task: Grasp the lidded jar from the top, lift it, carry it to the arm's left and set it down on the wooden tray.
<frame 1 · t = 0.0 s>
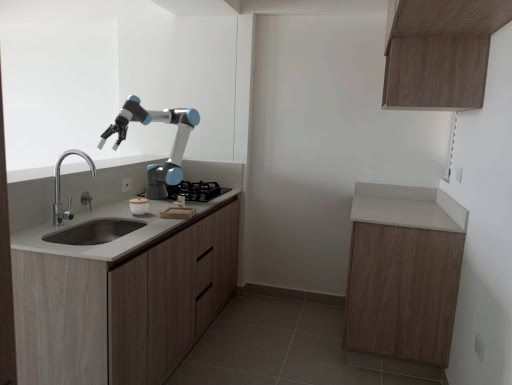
hand: (106, 149, 239), 36 cm above the worktop, tool tilted 35°, fingers open, 13 cm apart
wooden tray: (178, 215, 238), on the worktop
lidded jar: (139, 213, 241), on the worktop
architectural model: (180, 208, 259), on the worktop
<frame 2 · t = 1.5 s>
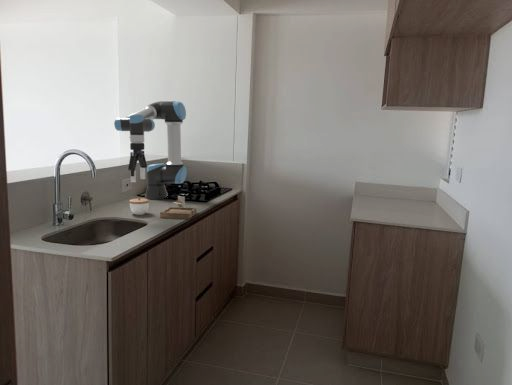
hand: (138, 180, 238), 19 cm above the worktop, tool pointing down, fingers open, 13 cm apart
nothing on the worktop moved.
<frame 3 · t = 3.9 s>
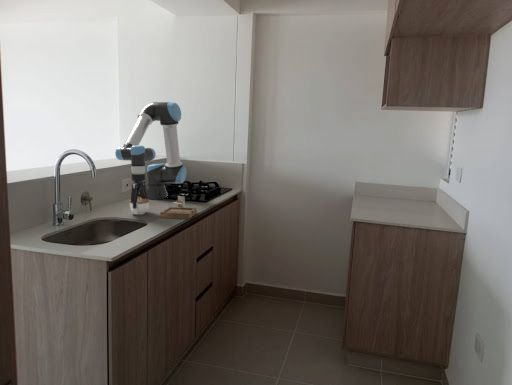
hand: (139, 211, 241), 1 cm above the worktop, tool pointing down, fingers closed on lidded jar, 11 cm apart
lidded jar: (139, 213, 241), on the worktop, touching gripper
everything else where it was.
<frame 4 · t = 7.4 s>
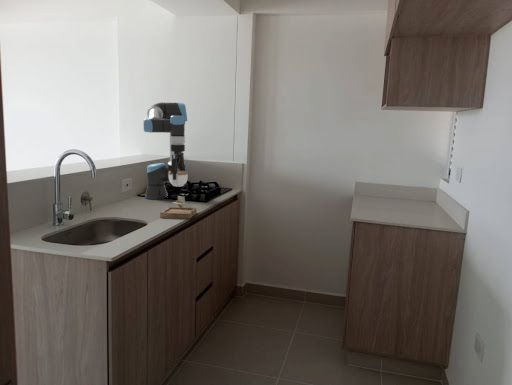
hand: (178, 184, 235), 18 cm above the worktop, tool pointing down, fingers closed on lidded jar, 11 cm apart
lidded jar: (178, 186, 236), point 17 cm above the worktop, touching gripper
everything else where it was.
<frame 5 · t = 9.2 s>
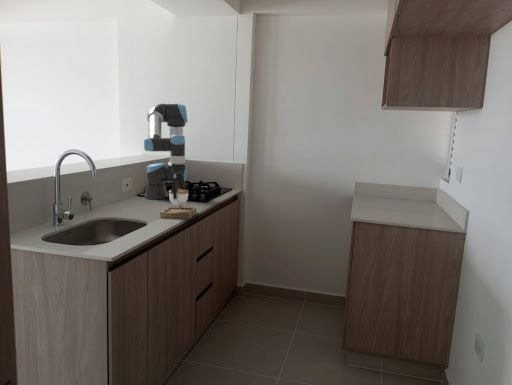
hand: (178, 202, 237), 7 cm above the worktop, tool pointing down, fingers closed on lidded jar, 11 cm apart
lidded jar: (178, 204, 237), point 6 cm above the worktop, touching gripper
everything else where it was.
when the fingers open (4 cm above the worktop, at t = 10.9 s): lidded jar stays where it is, resting on wooden tray.
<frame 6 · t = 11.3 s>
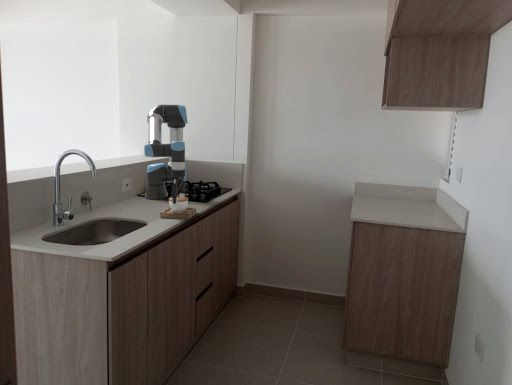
hand: (178, 207, 238), 5 cm above the worktop, tool pointing down, fingers open, 13 cm apart
lidded jar: (178, 212, 238), point 2 cm above the worktop, touching wooden tray
everything else where it was.
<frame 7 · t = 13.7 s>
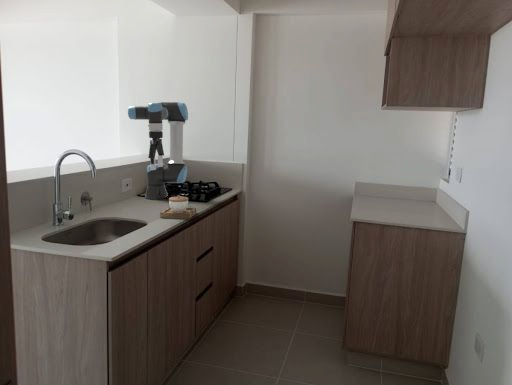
hand: (156, 168, 243), 25 cm above the worktop, tool pointing down, fingers open, 13 cm apart
nothing on the worktop moved.
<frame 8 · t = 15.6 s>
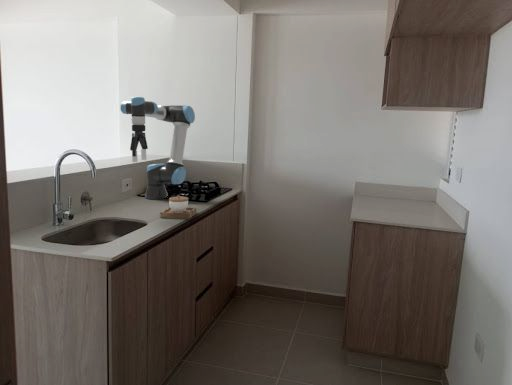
hand: (139, 161, 248), 29 cm above the worktop, tool pointing down, fingers open, 13 cm apart
nothing on the worktop moved.
at the end: lidded jar inside the target area on the wooden tray (0.1 cm from its centre), point 1.8 cm above the wooden tray's base; lidded jar tilted 0°; the gripper is holding nothing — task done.
